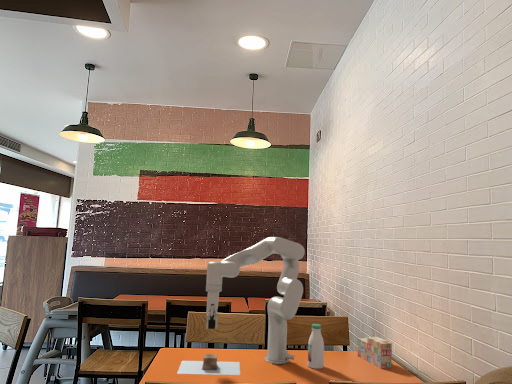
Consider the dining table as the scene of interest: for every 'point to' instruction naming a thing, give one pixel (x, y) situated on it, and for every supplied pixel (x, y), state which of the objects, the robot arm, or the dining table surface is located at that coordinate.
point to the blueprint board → (197, 368)
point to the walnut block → (210, 361)
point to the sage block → (215, 321)
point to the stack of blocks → (375, 351)
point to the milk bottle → (316, 348)
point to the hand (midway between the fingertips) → (211, 326)
